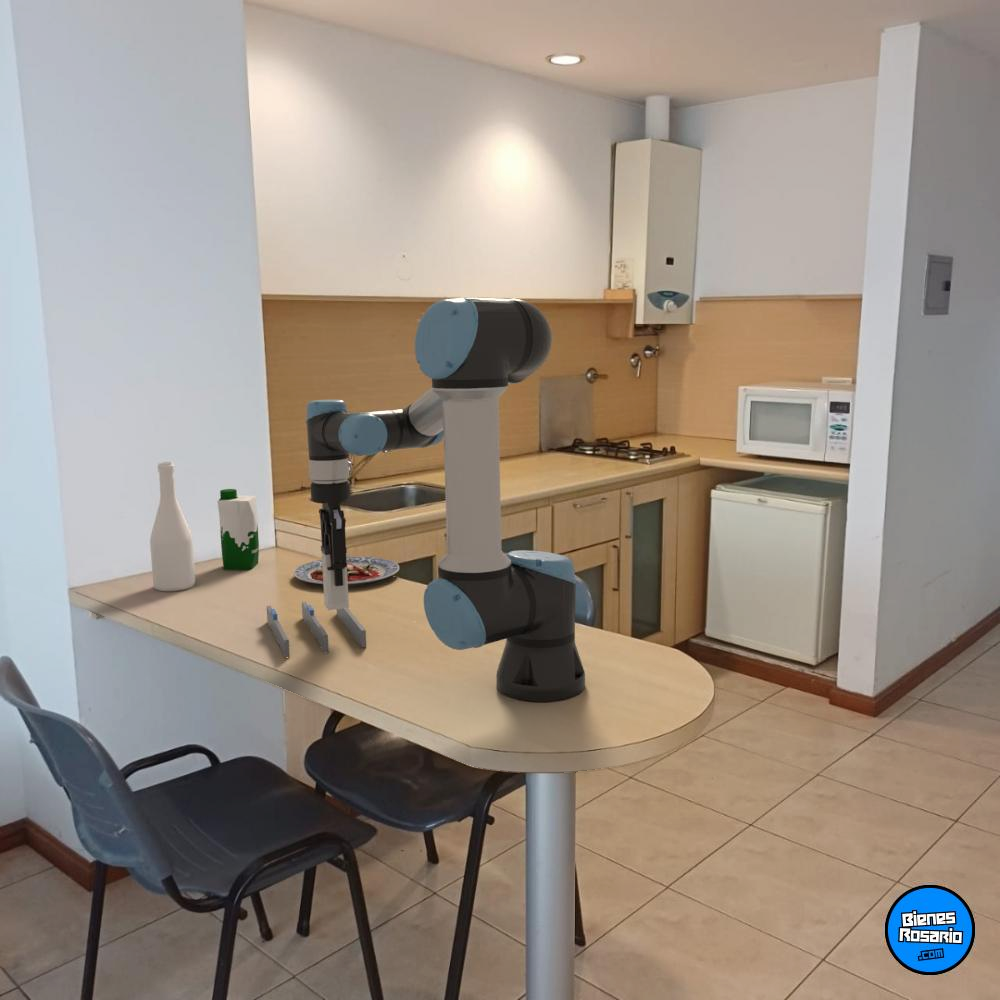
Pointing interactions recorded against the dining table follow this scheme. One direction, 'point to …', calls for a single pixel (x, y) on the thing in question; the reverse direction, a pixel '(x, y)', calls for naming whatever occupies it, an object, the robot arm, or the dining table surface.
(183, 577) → the wine bottle
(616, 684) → the dining table surface
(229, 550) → the milk carton
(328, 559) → the block
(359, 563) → the ceramic plate
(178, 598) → the dining table surface
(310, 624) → the grey upright slats
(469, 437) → the robot arm
